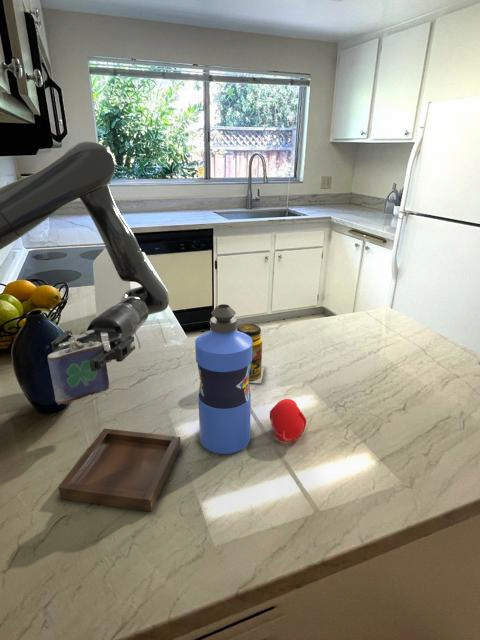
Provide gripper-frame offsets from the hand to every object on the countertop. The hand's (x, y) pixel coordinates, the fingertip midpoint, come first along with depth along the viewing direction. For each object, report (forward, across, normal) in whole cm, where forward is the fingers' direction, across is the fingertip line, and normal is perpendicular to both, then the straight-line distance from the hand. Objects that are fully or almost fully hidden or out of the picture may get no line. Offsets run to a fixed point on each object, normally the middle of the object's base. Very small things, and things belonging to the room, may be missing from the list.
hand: (71, 364), depth 67 cm
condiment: (-27, +25, +15) cm, 40 cm away
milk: (-57, -19, +15) cm, 62 cm away
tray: (+7, +11, +15) cm, 20 cm away
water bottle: (-4, +25, +15) cm, 29 cm away
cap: (-7, +36, +15) cm, 40 cm away
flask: (-2, 0, +7) cm, 7 cm away
